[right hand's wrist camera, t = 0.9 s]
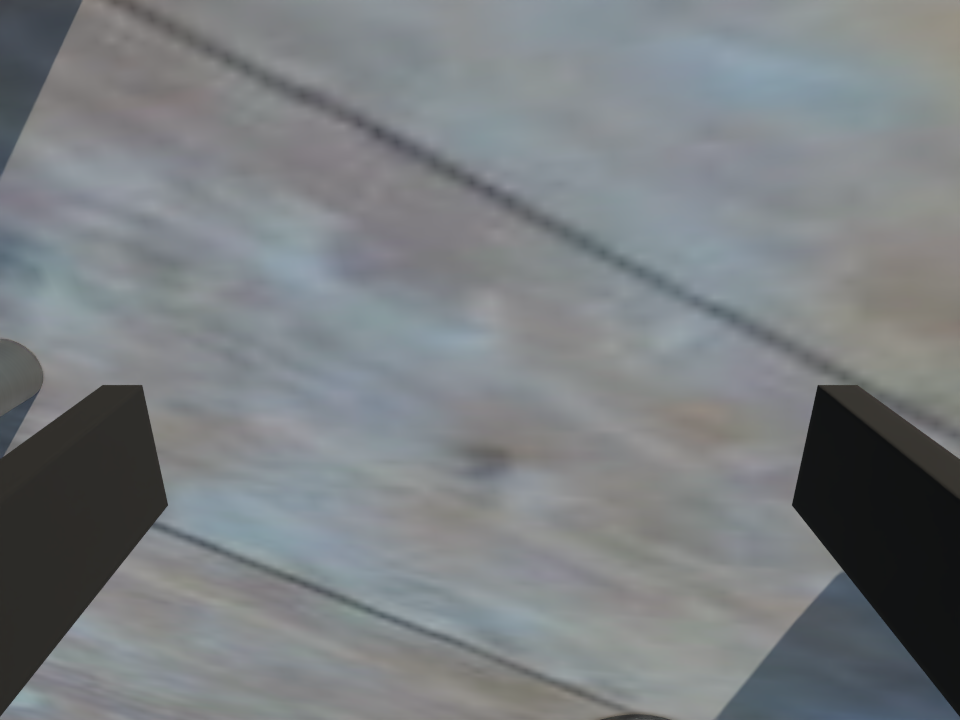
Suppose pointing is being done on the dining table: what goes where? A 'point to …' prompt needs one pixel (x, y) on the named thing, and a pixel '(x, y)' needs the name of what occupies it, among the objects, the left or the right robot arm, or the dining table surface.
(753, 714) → the dining table surface
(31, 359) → the gray cylinder
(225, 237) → the dining table surface
